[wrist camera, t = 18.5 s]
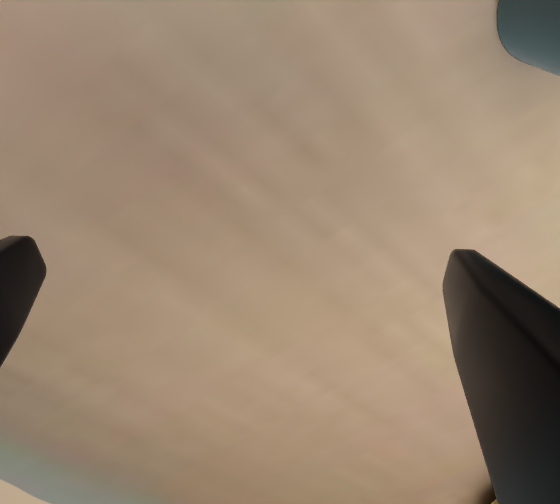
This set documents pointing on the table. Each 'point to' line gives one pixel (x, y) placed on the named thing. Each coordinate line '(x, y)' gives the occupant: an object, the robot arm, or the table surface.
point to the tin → (531, 32)
